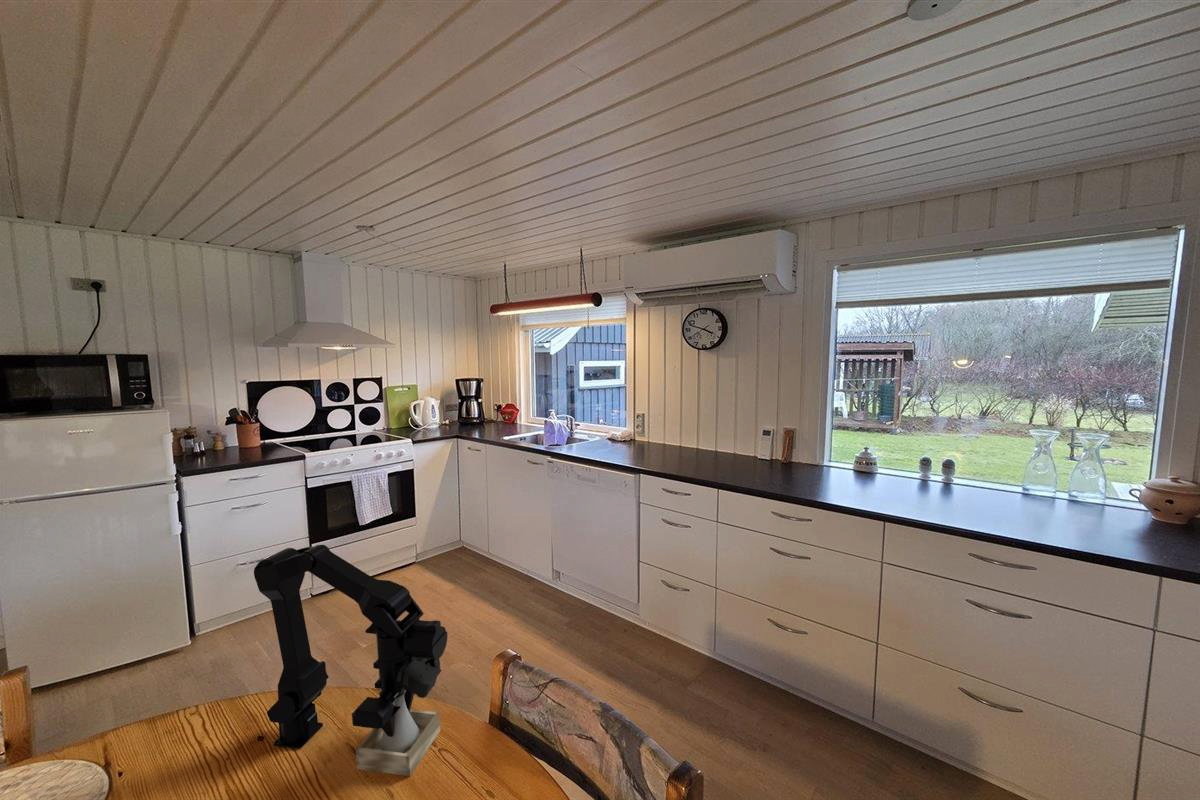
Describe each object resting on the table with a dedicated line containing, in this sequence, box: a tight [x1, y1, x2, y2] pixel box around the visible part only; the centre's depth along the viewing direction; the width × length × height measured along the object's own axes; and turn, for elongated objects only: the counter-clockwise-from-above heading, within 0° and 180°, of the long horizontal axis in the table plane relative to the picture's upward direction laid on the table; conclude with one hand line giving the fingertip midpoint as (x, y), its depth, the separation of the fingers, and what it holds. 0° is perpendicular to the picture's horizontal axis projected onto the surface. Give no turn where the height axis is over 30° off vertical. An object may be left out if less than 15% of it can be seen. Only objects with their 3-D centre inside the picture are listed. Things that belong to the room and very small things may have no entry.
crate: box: [355, 709, 441, 777], centre depth 96 cm, size 11×11×4 cm
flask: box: [379, 690, 419, 752], centre depth 96 cm, size 7×7×10 cm
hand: (398, 725), depth 96 cm, fingers closed on flask, 5 cm apart
